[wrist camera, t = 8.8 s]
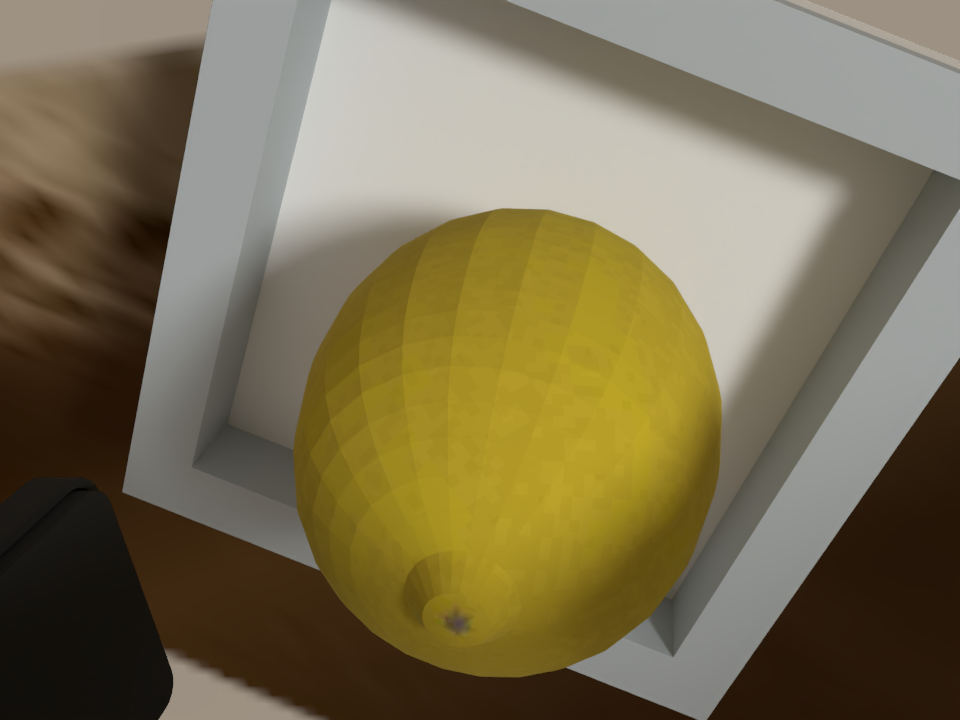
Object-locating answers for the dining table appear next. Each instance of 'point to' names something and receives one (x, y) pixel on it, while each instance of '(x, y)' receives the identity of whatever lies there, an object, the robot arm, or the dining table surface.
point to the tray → (590, 196)
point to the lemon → (508, 443)
